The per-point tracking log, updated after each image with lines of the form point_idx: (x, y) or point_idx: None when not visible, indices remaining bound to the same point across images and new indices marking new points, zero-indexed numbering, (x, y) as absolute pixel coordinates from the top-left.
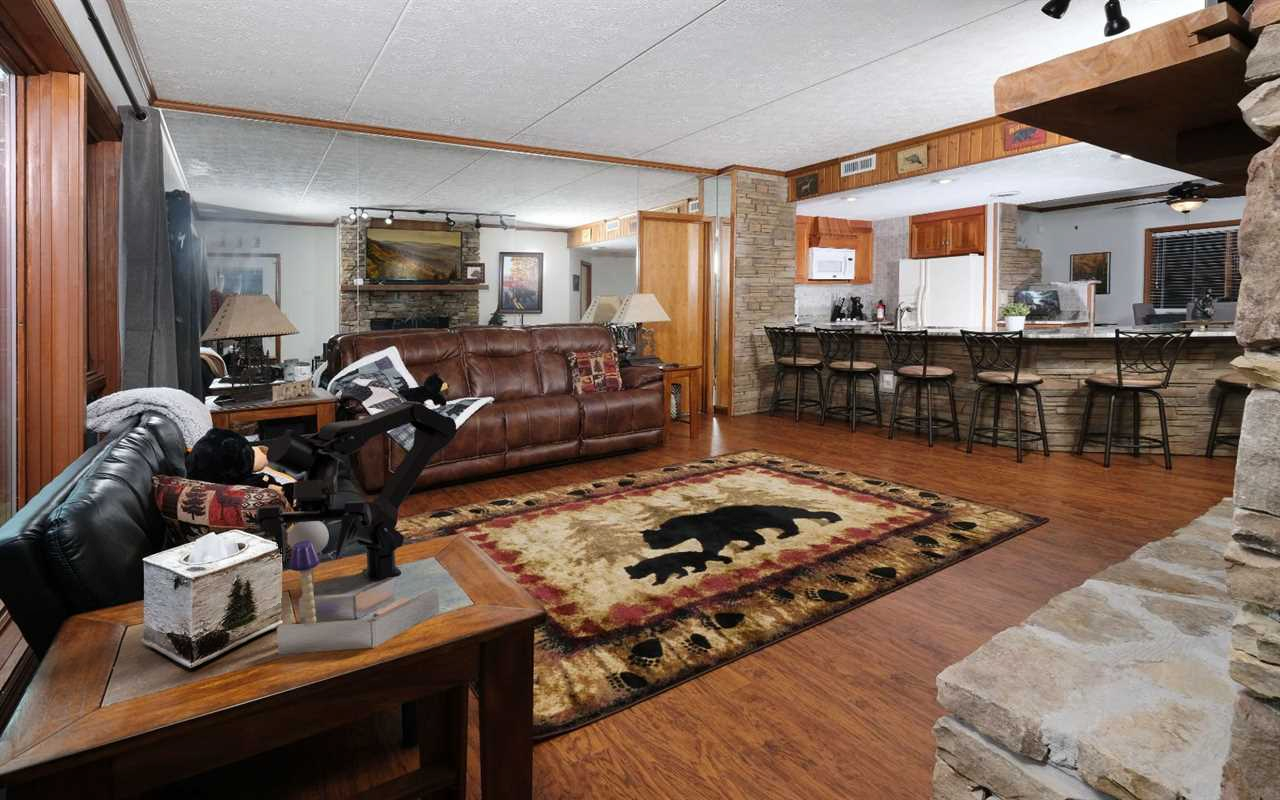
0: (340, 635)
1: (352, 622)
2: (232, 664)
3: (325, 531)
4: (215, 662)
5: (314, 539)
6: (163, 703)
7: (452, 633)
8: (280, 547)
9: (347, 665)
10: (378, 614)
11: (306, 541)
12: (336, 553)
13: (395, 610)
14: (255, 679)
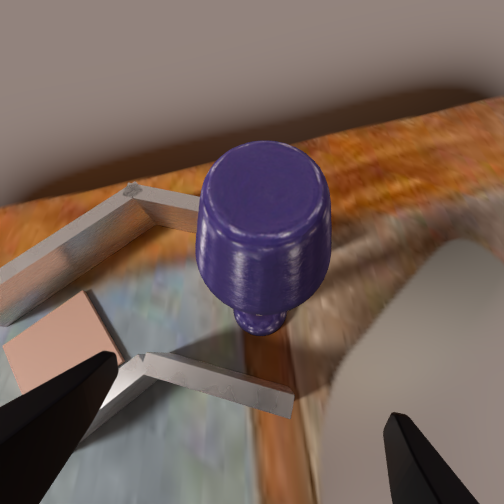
0: None
1: (170, 195)
2: (392, 238)
3: None
4: (428, 257)
5: None
6: (458, 155)
7: (24, 215)
8: (453, 498)
9: (203, 171)
10: (116, 349)
11: (237, 215)
12: (105, 360)
13: (76, 220)
14: (338, 176)
